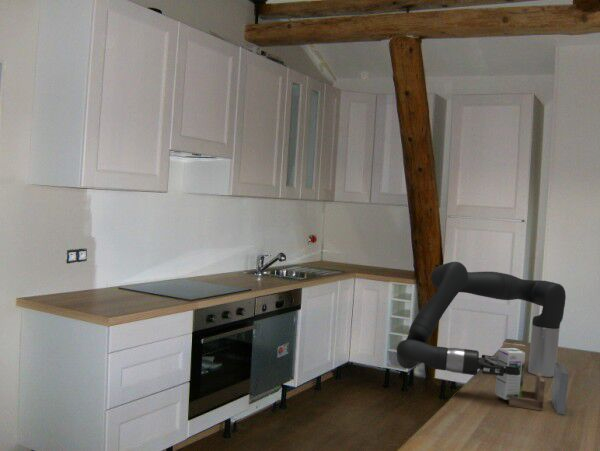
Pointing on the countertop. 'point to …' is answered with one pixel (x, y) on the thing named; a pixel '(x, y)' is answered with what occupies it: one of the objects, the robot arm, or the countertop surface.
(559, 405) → the plate
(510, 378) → the syrup box
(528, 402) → the cradle
